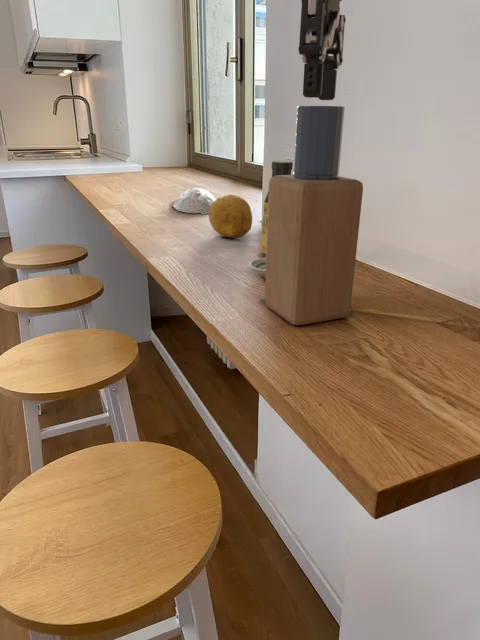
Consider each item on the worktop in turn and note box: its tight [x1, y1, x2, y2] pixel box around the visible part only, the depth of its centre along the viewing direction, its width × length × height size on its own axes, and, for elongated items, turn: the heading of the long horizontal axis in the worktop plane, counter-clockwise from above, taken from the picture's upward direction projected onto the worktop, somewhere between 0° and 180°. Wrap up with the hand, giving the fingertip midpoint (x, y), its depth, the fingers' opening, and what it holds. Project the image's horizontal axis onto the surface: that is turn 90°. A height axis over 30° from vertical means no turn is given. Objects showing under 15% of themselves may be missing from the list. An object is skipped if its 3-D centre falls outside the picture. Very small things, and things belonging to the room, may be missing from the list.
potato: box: [208, 194, 253, 240], centre depth 122 cm, size 10×12×10 cm
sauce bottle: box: [261, 159, 294, 258], centre depth 100 cm, size 7×6×20 cm
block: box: [264, 174, 364, 326], centre depth 72 cm, size 10×10×20 cm
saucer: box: [248, 257, 266, 279], centre depth 93 cm, size 10×10×2 cm
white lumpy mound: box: [172, 187, 217, 215], centre depth 161 cm, size 16×25×7 cm, turn 7°
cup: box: [292, 105, 345, 180], centre depth 66 cm, size 6×6×9 cm
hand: (319, 98), depth 65 cm, fingers open, 8 cm apart
